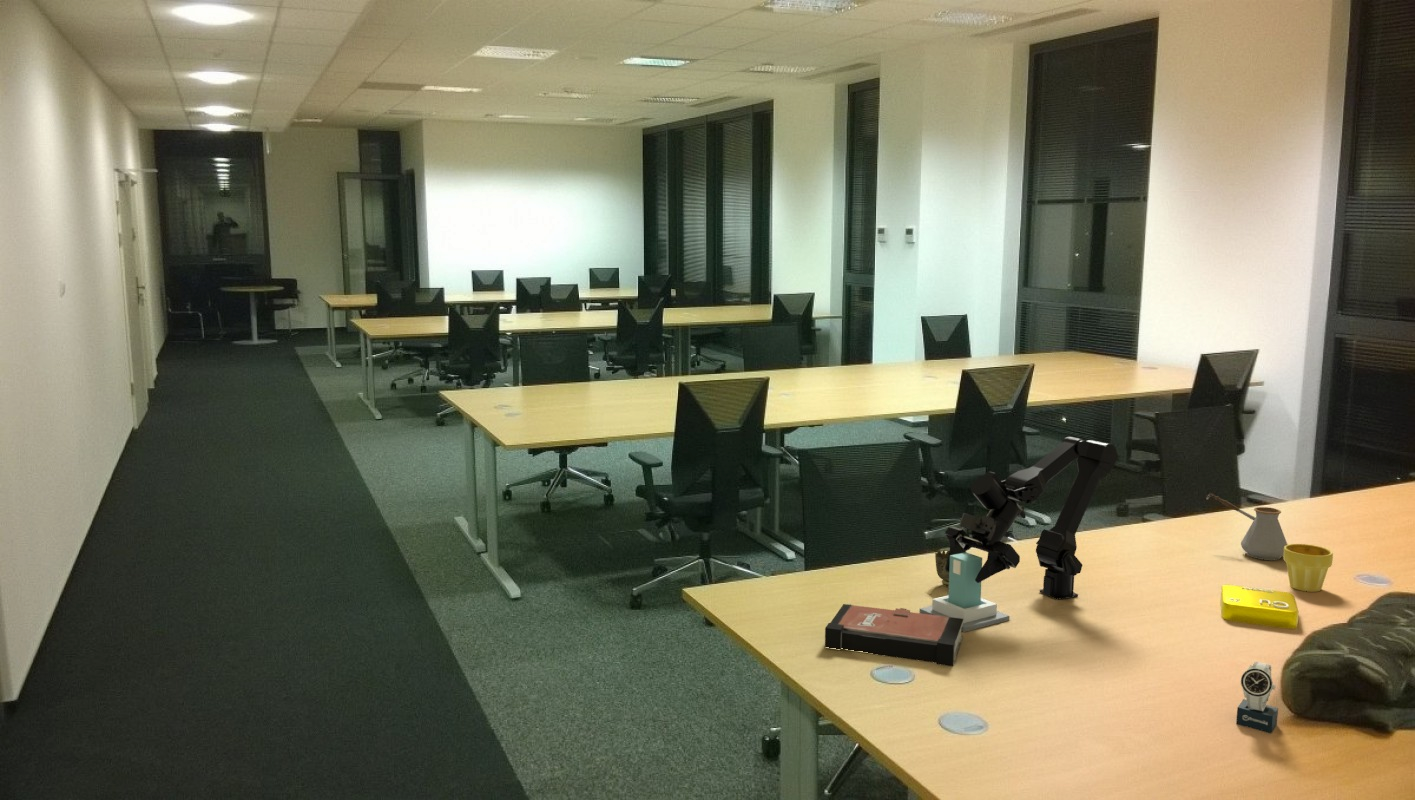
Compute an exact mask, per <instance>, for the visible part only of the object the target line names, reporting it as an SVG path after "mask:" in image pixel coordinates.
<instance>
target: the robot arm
mask: <svg viewBox="0 0 1415 800" xmlns="http://www.w3.org/2000/svg"><path fill="white" fill-rule="evenodd" d="M1118 457H1119V455H1118V451H1117V449H1116V446H1115V445H1114V444H1112V443H1108V442H1103V441H1098V440H1093V439H1088V440H1084V439H1083V438H1078V437H1074V436H1067V437H1064V439H1062V442H1061V443H1060V444H1059V445H1057V446H1056V447H1055V448H1053V449H1052V450H1051V451H1050V452H1049V453H1047V454H1046V455H1045V456H1043V457H1041V459H1040V460H1039V461H1037V462H1036V463H1035V464H1034V465H1032V466H1030V467H1028V468H1024V469H1020V470H1018V471H1016V472H1014V473H1012V474H1010V475H1009V476H1008V477H1007V478H1006V479H1004V480H1001V479H1000V477H999V475H998V474H997V473H996V472H992V471H988V472H987V474H986V475H982V476H979V477H978V478H977V479H974V481H973V482H972V483H971V487H970V491H971V493H972V494H973V496H974V497H975V498H976V499H977V500H978V501H979V503H980V504H981V505H982V506H983V507H984V508H985V509H986V510H989V511H988V513H987V514H986V515H981V516H979V517H978V516H975V515H973V514H972V515H971V514H968V513H966V512H963V513H962V516H961V520H960V522H959V524H958V527H957V526H953V525H952V526H948V527H947V529H946V530H945V532H944V534H943V535H944V536H945V537H946V541H948V543H949V555H948V559H947V564H946V568H945V570H946V571H947V572H949V568H950V555H955V554H960V553H964V552H967V551H969V550H971V548H975V549H977V550H981V551H983V552H985V553H987V558H986V560H985V562H984V563H983V564H982V568H981V570H980V571H979V573H978V575H977V577H976V579H975V581H976V582H977V583H980V582H981V583H982V582H983V581H985V580H987V579H988V578H990V577H992V576H994V575H995V574H996V575H997V574H998V573H1000V572H1002V571H1004V570H1010V569H1011V568H1013V569H1016V568H1017V567H1018V565H1019V564H1020V562H1021V558H1020V557H1021V556H1020V554H1019V553H1018V552H1017V551H1016V549H1015V548H1014V547H1013V546H1012V544H1009V543H1007V542H1003V541H1002V540H1003V539H1008V538H1009V537H1010V533H1009V532H1008V531H1009V530H1010V528H1011V527H1012V525H1013V524H1014V522H1015V521H1016V519H1017V518H1019V519H1023V520H1024V519H1026V517H1027V515H1026V511H1025V506H1023V505H1019V504H1018V503H1017V502H1016V501H1018V502H1020V503H1023V504H1027V505H1028V504H1033V503H1035V502H1036V501H1037V500H1038V499H1039V498H1040V496H1041V495H1042V494H1043V493H1044V491H1045V488H1046V485H1047V484H1048V482H1050V480H1052V479H1053V478H1054V477H1055V476H1058V474H1059V473H1061V472H1062V471H1064V469H1065V468H1067V467H1068V466H1069V465H1070V464H1071V463H1073V462H1074V461H1076V463H1077V464H1076V465H1077V470H1078V471H1077V475H1076V476H1075V480H1074V481H1073V483H1072V486H1071V487H1070V488H1071V489H1070V490H1069V493H1068V495H1067V497H1066V500H1065V502H1064V503H1063V506H1062V508H1061V511H1060V514H1059V515H1058V517H1057V520H1056V521H1055V524H1054V526H1053V527H1051V528H1050V529H1046V528H1043V530H1042V531H1041V534H1040V536H1039V539H1038V540H1037V541H1036V547H1035V553H1036V557H1037V560H1038V563H1039V567H1041V568H1045V570H1044V576H1043V586H1042V588H1041V589H1039V593H1041V594H1044V595H1046V596H1048V597H1049V598H1052V599H1055V600H1058V601H1059V600H1066V599H1070V598H1071V599H1072V598H1076V597H1078V596H1079V594H1078V593H1076V592H1075V591H1074V590H1075V589H1074V587H1075V576H1077V574H1080V573H1081V572H1082V567H1083V563H1082V562H1081V561H1080V560H1079V558H1078V557H1077V556H1076V555H1075V554H1076V552H1077V548H1078V547H1077V539H1076V533H1077V532H1078V529H1079V527H1080V524H1081V523H1082V519H1083V517H1084V515H1085V513H1086V511H1087V509H1088V506H1089V504H1090V501H1091V499H1092V497H1093V495H1094V493H1095V490H1096V488H1097V485H1098V483H1099V481H1100V480H1101V479H1103V478H1104V477H1106V476H1107V475H1108V474H1110V472H1111V471H1112V469H1113V467H1114V466H1115V464H1116V462H1117V461H1118ZM959 527H961V528H959ZM962 528H964V529H967V530H968V531H967V532H966V531H965V530H964V529H962ZM968 534H969V535H970V536H972V537H970V536H969V535H968Z"/></svg>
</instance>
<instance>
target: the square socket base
mask: <svg viewBox="0 0 1415 800" xmlns="http://www.w3.org/2000/svg"><path fill="white" fill-rule="evenodd" d="M948 596H949V594H947V595H944V596H941V597H936V598H932V603H931V605H928V606H923V607H920V608H919V612H918V613H921V614H929V615H937V616H945V617H953V618H961V619H964V622H963V625H962V628H961V632H963V633H965V632H970V631H973V630H977V629H981V628H985V627H988V626H989V627H990V626H993V625H997V624H1001V623H1003V622H1007V621H1010V615H1008V614H1006V613H1004V612H1001V611H998V610H997V609H998V603H995V602H993V601H990V600H988V599H985V598H983V597H981V605H978V606H974V607H970V608H966V609H964V608H961V607H959V606H956V605H954V604H951V603H949V602H948Z"/></svg>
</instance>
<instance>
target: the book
mask: <svg viewBox="0 0 1415 800" xmlns="http://www.w3.org/2000/svg"><path fill="white" fill-rule="evenodd" d="M963 622H964V619H961V618H953V617H945V616H937V615H929V614H921V613H919V612H911V609H907V608H904V607H903V608H902V607H900V608H895V609H888V608H880V607H879V608H878V607H872V606H871V607H870V606H863V605H854V604H848V603H847V604H846V603H843V604H842V606H841V607H840V608H839V610H838V612H837V613H836V614H835V616H833V618H832V620H831V621H830V622H828V623H827V625H826V626H825V628H824V630H825V631H824V648H825V647H829V648H836V649H841V648H843V649H848V650H854V651H863V652H868V653H873V654H872V655H875V654H878V655H877V656H882V655H885V656H884V657H889V656H890V657H891V658H897V657H898V658H899V659H905V660H911V661H918V660H919V661H920V662H927V663H933V662H934V663H933V664H936V665H940V664H941V665H940V666H947V667H954V664H955V662H956V659H957V655H958V653H959V650H960V646H961V644H962V641H963V637H964V635H962V631H961V628H962V625H963ZM868 653H867V654H868ZM898 658H897V659H898Z"/></svg>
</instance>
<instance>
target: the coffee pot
mask: <svg viewBox="0 0 1415 800" xmlns="http://www.w3.org/2000/svg"><path fill="white" fill-rule="evenodd" d="M1210 497H1211V498H1213V499H1215V501H1218V502H1219V503H1221V504H1222V505H1224V506H1226V507H1228V508H1230V509H1232V510H1234V511H1236V512H1238V513H1240V514H1241V515H1243V516H1245V517H1246V518H1249V519H1250V520H1252V523H1251V524H1250V526H1249V528H1248V529H1247V531H1246V533H1245V534H1244V536H1243V538H1242V540H1241V542H1240V545H1241V548H1242V550H1243V551H1244V552H1246V553H1247V555H1248V556H1249V557H1251V558H1253V557H1254V559H1257V558H1258V559H1257V560H1263V559H1264V561H1278V560H1281V557H1284V547H1285V546H1286V545H1289V544H1288V542H1287V539H1286V537H1285V534H1284V532H1283V529H1282V526H1281V524H1280V522H1279V519H1278V518H1279V515H1281V513H1282V511H1281V510H1280V509H1277V508H1275V507H1274V508H1273V507H1268V506H1267V507H1266V506H1259V507H1258V506H1257V507H1254V509H1253V511H1255V516H1254V515H1251V514H1250V513H1248V512H1246V511H1244V510H1242V509H1240V508H1239V507H1237V506H1236V505H1234V504H1233V503H1231V502H1229V501H1228V500H1226V499H1223V498H1221V497H1219V496H1218V495H1217V496H1216V495H1215V494H1214V493H1211V492H1209V494H1208V495H1207V496H1206V499H1205V500H1209V498H1210ZM1277 559H1278V560H1277Z"/></svg>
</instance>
